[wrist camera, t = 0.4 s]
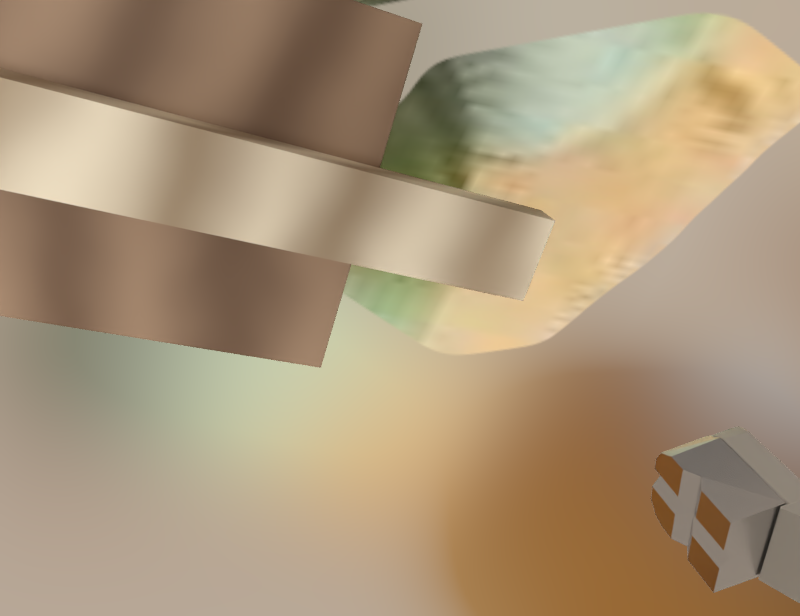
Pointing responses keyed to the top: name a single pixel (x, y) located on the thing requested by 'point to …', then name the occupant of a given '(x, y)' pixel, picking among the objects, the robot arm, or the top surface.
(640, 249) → the top surface
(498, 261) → the birch slat
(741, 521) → the robot arm
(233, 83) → the walnut stand
